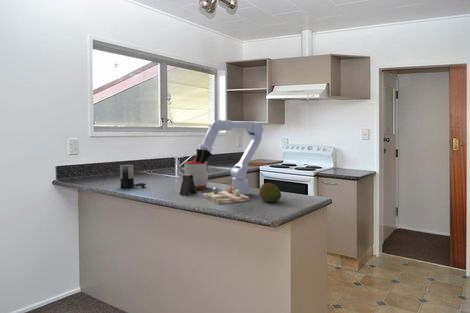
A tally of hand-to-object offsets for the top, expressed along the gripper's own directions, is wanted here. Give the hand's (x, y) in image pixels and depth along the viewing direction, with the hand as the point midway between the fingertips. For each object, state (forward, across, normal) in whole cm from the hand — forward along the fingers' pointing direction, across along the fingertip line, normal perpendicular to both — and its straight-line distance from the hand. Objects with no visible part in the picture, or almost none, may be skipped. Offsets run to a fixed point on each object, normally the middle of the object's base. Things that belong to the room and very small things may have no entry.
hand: (199, 162), depth 205 cm
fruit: (+5, +26, +36) cm, 45 cm away
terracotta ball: (+7, +1, +23) cm, 24 cm away
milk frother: (+30, -57, -15) cm, 66 cm away
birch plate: (+13, +7, +20) cm, 25 cm away
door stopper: (+19, -16, +8) cm, 26 cm away
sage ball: (+7, +12, +23) cm, 27 cm away
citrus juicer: (+13, -32, +18) cm, 39 cm away
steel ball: (+11, 0, +16) cm, 19 cm away
